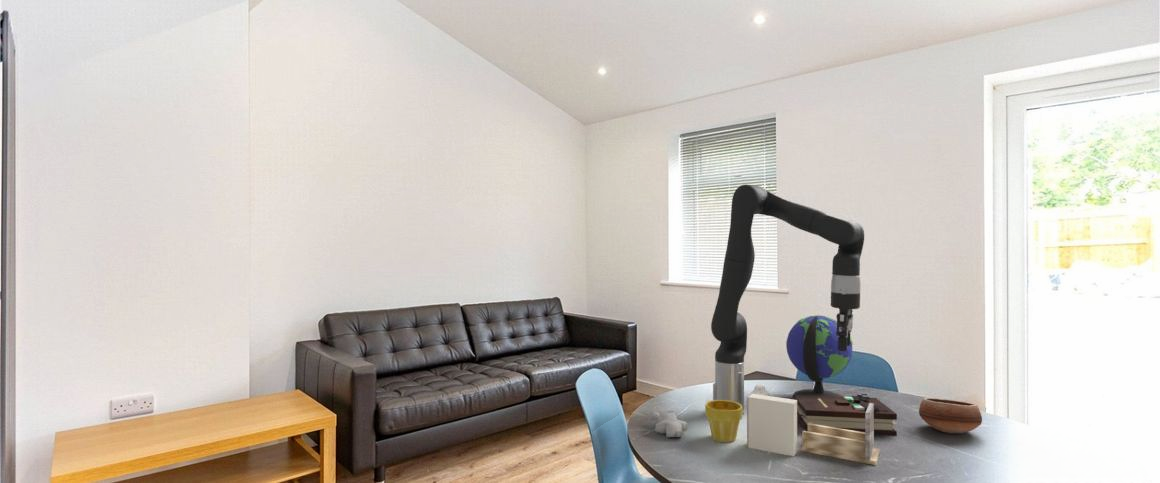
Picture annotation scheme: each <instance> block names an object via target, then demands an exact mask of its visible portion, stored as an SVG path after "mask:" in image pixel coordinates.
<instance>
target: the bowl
mask: <svg viewBox="0 0 1160 483" xmlns="http://www.w3.org/2000/svg"><path fill="white" fill-rule="evenodd" d="M918 415H919V416H920V418H921V419H922V420H923V421H924V422H925V423H926V424H928V425H929V426H930V427H932V428H933V429H935V430H936V431H940V432H941V433H947V434H964V433H968V432H972V431H973V430H975V429H977V428H978V427H980V426H981V425H982V424H983V418H982V417H983V416H982V412H981V410H980V408H979V406H978V405H977V404H976V403H972V402H967V401H966V400H956V399H955V400H954V399H946V398H938V397H937V398H936V397H924V398H922V399H921V402H920V404H919V407H918Z"/></svg>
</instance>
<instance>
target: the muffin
mask: <svg viewBox="0 0 1160 483" xmlns="http://www.w3.org/2000/svg"><path fill="white" fill-rule="evenodd" d="M751 394H759V395H766V396H771V394H770V393H769V391H768V390H767V389H766V386H764V384H756V385H755V386H754V388H753V390H752V391H751V392H750V395H751Z"/></svg>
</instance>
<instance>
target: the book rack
mask: <svg viewBox="0 0 1160 483" xmlns="http://www.w3.org/2000/svg"><path fill="white" fill-rule="evenodd" d="M801 435H802V436H801V437H802V438H801V439H802V441H801V444H802V446H801V451H802V452H806V453H810V454H816V455H820V456H827V457H830V458H831V457H832V458H835V459H836V458H837V459H841V460H847V461H852V462H857V463H863V464H868V465H873V466H877V465H878V461H879V457H880V454H881V448H877V447H875V446H874V445H875V443H874V441H875V440H874V439H875V438H874V436H875V435H874V404H873V403H869V406H868V408H867V410H866V413H865V432H859V431H853V430H847V429H841V428H835V427H829V426H823V425H817V424H811V423H808V431H806V430H802V434H801Z"/></svg>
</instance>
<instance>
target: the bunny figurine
mask: <svg viewBox="0 0 1160 483" xmlns="http://www.w3.org/2000/svg"><path fill="white" fill-rule="evenodd" d="M650 417H651V418H653V419H657V420H658V422H657V423H655V428H654V429H655V432H656V433H661V434H665V437H666V438H669V439H670V438H681V437H683V432H686V431H688V422H686V421H684V420H680V419H678V416H677V413H676V412H675V411H674V410H668V411H667V412H660V413H659V412H658V411H651V414H650Z"/></svg>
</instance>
